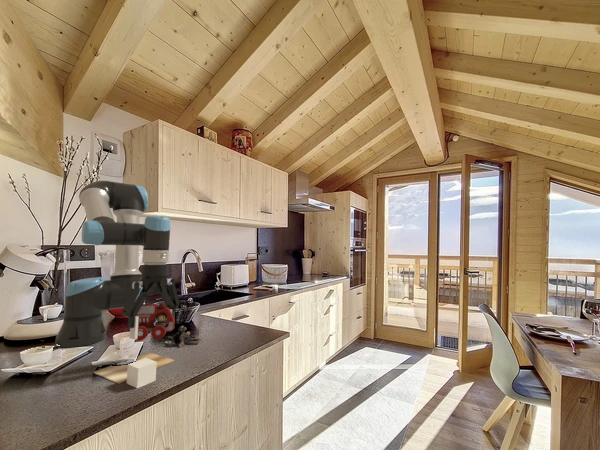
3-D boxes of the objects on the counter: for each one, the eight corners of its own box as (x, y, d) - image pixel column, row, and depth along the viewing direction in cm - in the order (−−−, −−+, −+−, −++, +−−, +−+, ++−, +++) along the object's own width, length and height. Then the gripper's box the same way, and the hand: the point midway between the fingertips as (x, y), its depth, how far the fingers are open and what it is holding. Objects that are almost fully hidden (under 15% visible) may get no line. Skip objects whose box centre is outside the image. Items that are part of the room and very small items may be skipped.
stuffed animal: (195, 345, 99) (169, 325, 100) (179, 368, 99) (153, 348, 99) (207, 334, 111) (183, 316, 112) (192, 354, 110) (169, 336, 111)
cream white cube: (126, 383, 73) (127, 364, 73) (145, 376, 77) (146, 357, 78) (137, 388, 70) (138, 368, 71) (155, 380, 75) (156, 361, 75)
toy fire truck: (171, 338, 85) (172, 304, 86) (126, 342, 82) (127, 306, 83) (176, 331, 92) (176, 300, 93) (135, 334, 89) (136, 302, 90)
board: (93, 372, 79) (93, 371, 79) (149, 353, 93) (149, 352, 93) (118, 384, 72) (118, 383, 72) (175, 361, 87) (175, 360, 87)
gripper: (125, 265, 77) (119, 346, 75) (192, 262, 98) (189, 326, 96) (110, 264, 81) (105, 342, 79) (178, 262, 101) (175, 323, 99)
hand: (151, 333), depth 87 cm, fingers closed on toy fire truck, 11 cm apart
